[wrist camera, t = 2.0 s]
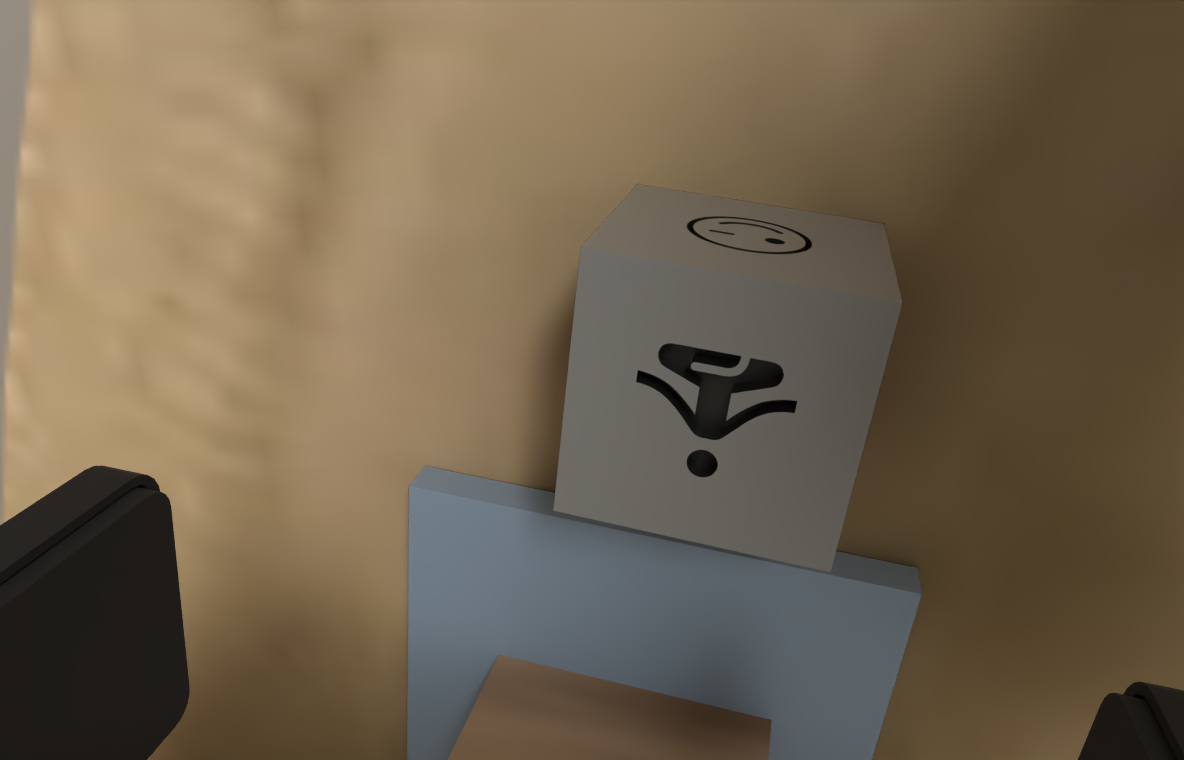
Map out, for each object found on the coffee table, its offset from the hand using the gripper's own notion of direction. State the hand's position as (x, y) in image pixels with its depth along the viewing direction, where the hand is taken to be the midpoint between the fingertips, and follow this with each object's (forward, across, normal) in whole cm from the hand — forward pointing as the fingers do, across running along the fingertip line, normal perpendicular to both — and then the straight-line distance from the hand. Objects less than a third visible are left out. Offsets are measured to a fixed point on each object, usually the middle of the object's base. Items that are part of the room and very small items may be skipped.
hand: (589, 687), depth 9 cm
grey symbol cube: (+12, -1, 0) cm, 12 cm away
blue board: (+12, 0, +13) cm, 18 cm away
